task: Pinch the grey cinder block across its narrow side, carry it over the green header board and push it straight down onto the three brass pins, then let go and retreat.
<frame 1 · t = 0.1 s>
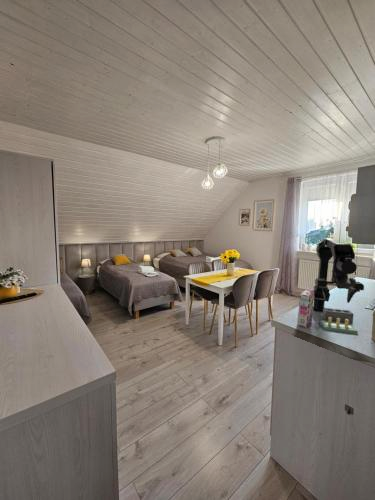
hand: (336, 301, 107), 15 cm above the countertop, fingers open, 9 cm apart
header: (337, 328, 111), on the countertop
grey cinder block: (337, 321, 119), on the countertop
candy bar box: (304, 323, 116), on the countertop
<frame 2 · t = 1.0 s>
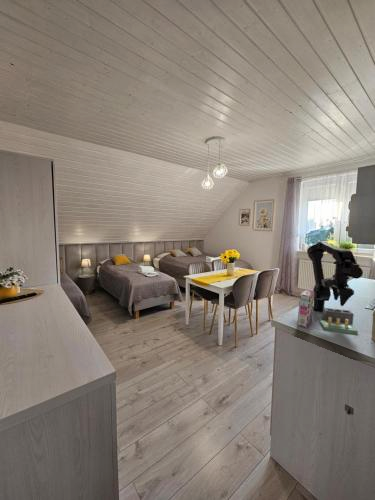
hand: (338, 302, 117), 10 cm above the countertop, fingers open, 9 cm apart
nothing on the countertop moved.
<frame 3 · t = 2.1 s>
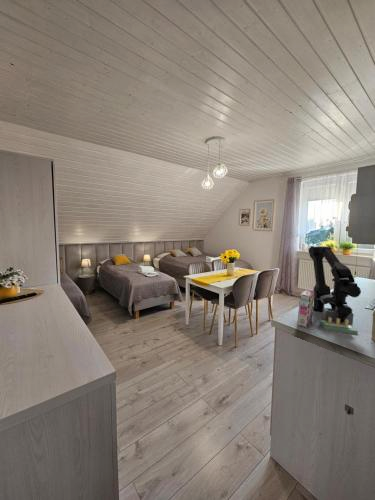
hand: (337, 319, 118), 1 cm above the countertop, fingers open, 9 cm apart
nothing on the countertop moved.
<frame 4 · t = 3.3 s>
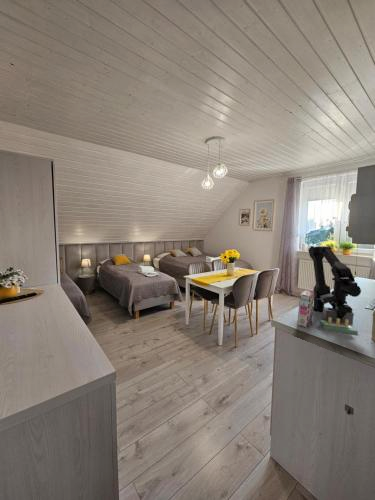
hand: (337, 319, 118), 1 cm above the countertop, fingers closed on grey cinder block, 5 cm apart
grey cinder block: (337, 320, 118), on the countertop, touching gripper
everything else where it was.
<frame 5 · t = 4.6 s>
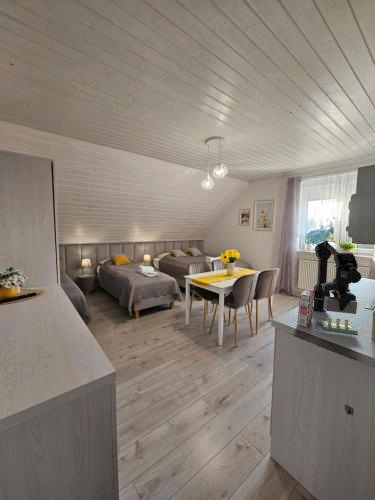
hand: (339, 308, 110), 10 cm above the countertop, fingers closed on grey cinder block, 5 cm apart
grey cinder block: (339, 310, 110), point 9 cm above the countertop, touching gripper
everything else where it was.
when the fingers open (3 cm above the countertop, at t = 6.3 s): grey cinder block stays where it is, resting on header.
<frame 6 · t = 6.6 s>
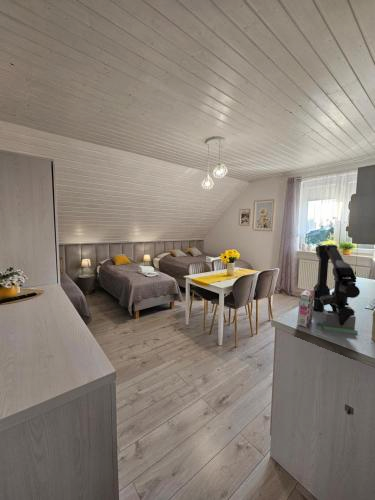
hand: (338, 321, 110), 3 cm above the countertop, fingers open, 8 cm apart
grey cinder block: (337, 325, 111), point 2 cm above the countertop, touching header
everything else where it was.
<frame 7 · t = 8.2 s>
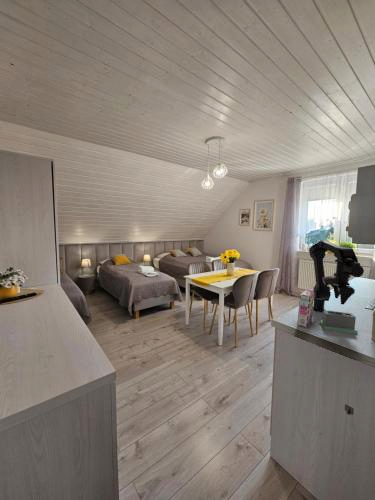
hand: (339, 301, 116), 12 cm above the countertop, fingers open, 9 cm apart
nothing on the countertop moved.
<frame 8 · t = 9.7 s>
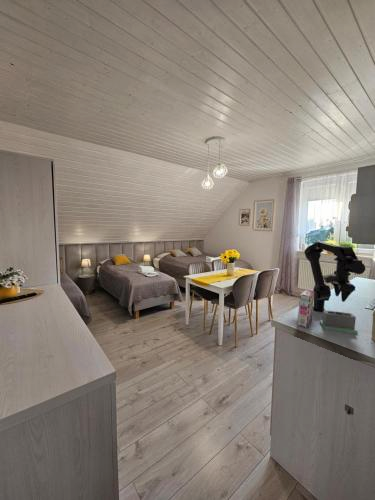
hand: (339, 298, 119), 12 cm above the countertop, fingers open, 9 cm apart
nothing on the countertop moved.
at the end: grey cinder block 0.1 cm off-centre on the header, point 1.6 cm above the header's base; grey cinder block tilted 0°; the gripper is holding nothing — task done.
